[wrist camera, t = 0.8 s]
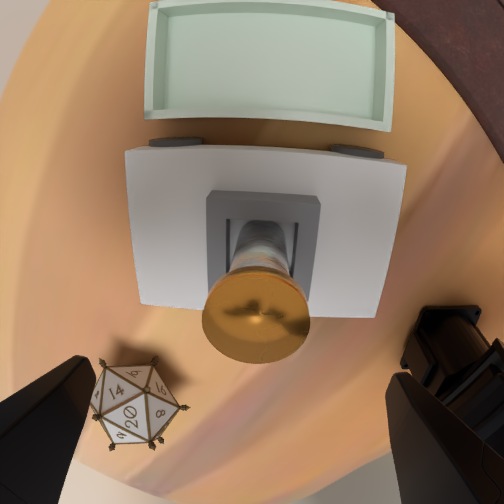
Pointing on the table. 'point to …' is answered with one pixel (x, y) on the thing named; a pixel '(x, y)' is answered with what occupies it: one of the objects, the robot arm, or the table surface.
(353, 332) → the table surface
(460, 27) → the notebook
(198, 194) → the white socket plate
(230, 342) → the pin
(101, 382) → the game die
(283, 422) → the table surface
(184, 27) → the tray
